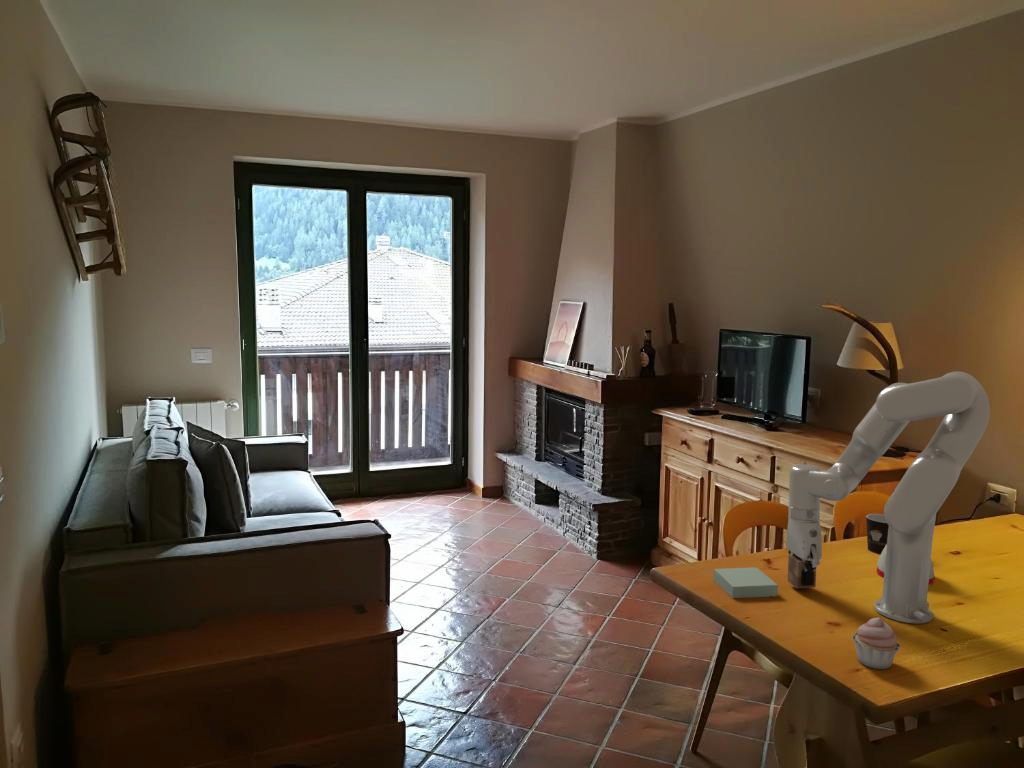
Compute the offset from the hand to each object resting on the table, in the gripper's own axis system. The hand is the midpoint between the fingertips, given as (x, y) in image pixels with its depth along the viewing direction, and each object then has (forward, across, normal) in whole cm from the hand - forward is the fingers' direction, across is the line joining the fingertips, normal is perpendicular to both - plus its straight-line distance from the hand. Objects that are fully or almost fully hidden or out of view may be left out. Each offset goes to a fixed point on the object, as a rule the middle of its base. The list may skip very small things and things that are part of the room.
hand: (801, 580), depth 196 cm
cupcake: (+3, -38, +5) cm, 39 cm away
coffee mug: (+3, +24, -39) cm, 46 cm away
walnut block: (+1, 0, 0) cm, 1 cm away
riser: (+2, +2, +15) cm, 15 cm away
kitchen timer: (+3, +6, -33) cm, 34 cm away
